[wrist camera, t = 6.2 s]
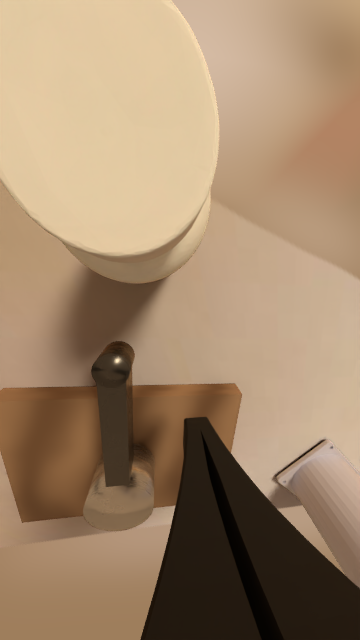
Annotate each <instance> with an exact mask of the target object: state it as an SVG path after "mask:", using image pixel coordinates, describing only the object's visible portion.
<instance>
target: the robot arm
mask: <svg viewBox="0 0 360 640" xmlns="http://www.w3.org/2000/svg"><path fill="white" fill-rule="evenodd" d="M183 451H184V459H183V467H182V473H181V480H180V486H179V491H178V496H177V502H176V506H175V511H174V516H173V520H172V525H171V529H170V534H169V538H168V542H167V545H166V550H165V553H164V557H163V561H162V565H161V569H160V572H159V576H158V580H157V584H156V587H155V591H154V594H153V598H152V601H151V605H150V608H149V612H148V615H147V619H146V622H145V626H144V629H143V633H142V636H141V640H360V473H359V472H358V471H357V469H356V468H355V467H354V466H353V465H352V464H351V463H350V462H349V461H348V460H347V458H346V457H345V456H344V455H343V454H342V453H341V452H340V451H339V450H338V449H337V447H336V446H335V445H334V444H333V443H332V442H331V441H330V440H325V441H323V442H322V443H321V444H319V445H318V446H317V447H315V448H314V449H313V450H311V451H310V452H309V453H307V454H306V455H305V456H303V457H302V458H300V459H299V460H298V461H296V462H295V463H294V464H292V465H291V466H290V467H288V468H287V469H286V470H284V471H283V472H282V473H280V474H279V475H278V476H277V477H276V479H277V481H278V482H279V483H280V484H281V485H283V486H284V487H285V488H286V489H288V490H289V491H290V492H291V493H293V494H294V495H295V496H297V497H298V498H299V500H300V502H301V503H302V505H303V506H304V508H305V510H306V511H307V513H308V514H309V516H310V518H311V519H312V521H313V523H314V524H315V526H316V528H317V529H318V531H319V533H320V534H321V536H322V537H323V539H324V541H325V542H326V544H327V545H328V547H329V549H330V550H331V552H332V554H333V555H334V557H335V559H336V560H337V562H338V563H339V565H340V567H341V568H342V570H343V572H344V573H345V575H346V576H345V575H344V574H343V573H342V572H341V571H340V570H339V569H338V568H336V567H335V566H334V565H333V564H332V563H331V562H330V561H329V560H328V559H327V558H326V557H325V556H324V555H322V554H321V553H320V552H319V551H318V550H317V549H316V548H315V547H314V546H313V545H312V544H311V543H310V542H309V541H308V540H307V539H306V538H305V537H304V536H303V535H302V534H301V533H300V532H299V531H298V530H297V529H296V528H295V527H294V526H293V525H292V524H291V523H290V522H289V521H288V520H287V519H286V518H285V517H284V516H283V515H282V514H281V513H280V512H279V511H278V510H277V509H276V507H275V506H274V505H273V504H272V503H271V502H270V501H269V500H268V499H267V498H266V496H265V495H264V494H263V493H262V492H261V491H260V490H259V488H258V487H257V486H256V485H255V484H254V483H253V481H252V480H251V479H250V478H249V476H248V475H247V474H246V473H245V471H244V470H243V469H242V468H241V466H240V465H239V464H238V462H237V461H236V460H235V458H234V457H233V456H232V454H231V453H230V451H229V450H228V449H227V447H226V446H225V444H224V443H223V441H222V440H221V439H220V437H219V435H218V434H217V432H216V431H215V429H214V428H213V426H212V424H211V423H210V421H209V419H208V418H207V417H194V418H185V419H184V431H183Z"/></svg>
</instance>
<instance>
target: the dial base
mask: <svg viewBox="0 0 360 640" xmlns="http://www.w3.org/2000/svg"><path fill="white" fill-rule="evenodd" d="M132 392H133V435H134V444H138V445H141V446H143V447H145V448H147V449H148V450H149V451H150V452H151V453H152V454H153V456H154V459H155V477H154V507H153V508H156V507H165V506H174V505H176V502H177V496H178V491H179V486H180V480H181V473H182V467H183V459H184V451H183V431H184V419H185V418H194V417H207V418H208V419H209V421H210V423H211V424H212V426H213V428H214V429H215V431H216V432H217V434H218V435H219V437H220V439H221V440H222V441H223V443H224V444H225V446H226V447H227V449H228V450H229V451H230V453H231V449H232V444H233V439H234V434H235V429H236V423H237V418H238V413H239V408H240V403H241V398H242V393H241V392H240V390H239V389H238V387H237V386H236V384H188V385H138V386H132ZM0 451H1V455H2V458H3V461H4V465H5V468H6V471H7V475H8V478H9V481H10V485H11V488H12V491H13V494H14V498H15V501H16V504H17V508H18V511H19V514H20V518H21V521H22V523H23V522H31V521H40V520H49V519H58V518H67V517H76V516H84V515H83V508H84V505H85V501H86V498H87V495H88V492H89V489H90V486H91V483H92V480H93V477H94V474H95V471H96V468H97V465H98V462H99V459H100V457H101V456H102V454H103V451H102V440H101V429H100V418H99V407H98V396H97V386H88V387H38V388H3V389H2V390H1V391H0Z"/></svg>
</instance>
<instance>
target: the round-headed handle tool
mask: <svg viewBox="0 0 360 640" xmlns="http://www.w3.org/2000/svg"><path fill="white" fill-rule="evenodd" d="M134 357H135V353H134V350H133V348H132V347H131V346H130V345H129V344H127V343H125V342H122V341H116V342H112V343H110V344H109V345H107V346H106V348H105V349H104V350H103V352H102V353H101V355H100V356H99V357H98V359H97V360H96V361H95V363H94V364H93V366H92V370H91V372H92V377H93V379H94V380H95V381H96V385H97V396H98V407H99V418H100V429H101V440H102V451H103V454H102V456H101V457H100V459H99V462H98V465H97V468H96V471H95V474H94V477H93V480H92V483H91V486H90V489H89V492H88V495H87V498H86V501H85V505H84V508H83V515H84V518H85V520H86V521H87V522H88V523H89V524H90V525H92V526H93V527H95V528H98V529H101V530H106V531H122V530H127V529H130V528H133V527H136V526H138V525H140V524H141V523H143V522H144V521H145V520H147V519H148V517H149V516H150V515H151V513H152V511H153V507H154V477H155V459H154V456H153V454H152V453H151V452H150V451H149V450H148V449H147V448H145V447H143V446H141V445H138V444H134V435H133V392H132V364H133V361H134Z"/></svg>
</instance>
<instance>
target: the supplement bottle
mask: <svg viewBox="0 0 360 640" xmlns="http://www.w3.org/2000/svg"><path fill="white" fill-rule="evenodd" d="M216 103H217V102H216V97H215V90H214V87H213V84H212V80H211V77H210V73H209V71H208V67H207V64H206V61H205V59H204V56H203V53H202V51H201V49H200V47H199V45H198V42H197V40H196V37H195V35H194V33H193V32H192V30H191V28H190V26H189V24H188V23H187V21H186V20H185V19H184V17H183V16H182V14H181V13H180V12H179V10H178V9H177V7H176V6H175V5H174V4H173V2H172V1H171V0H0V181H1V182H2V184H3V185H4V186H5V188H6V189H7V190H8V192H9V193H10V195H11V196H12V197H13V198H14V200H15V201H16V202H17V203H18V204H19V205H20V206H21V208H22V209H23V210H24V211H25V212H26V213H27V214H28V215H29V216H30V217H31V218H32V219H33V220H34V221H35V222H36V223H37V224H38V225H40V226H41V227H42V228H43V229H44V230H46V231H47V232H48V233H50V234H51V235H53V236H54V237H56V238H58V239H59V240H61V241H62V242H63V244H64V245H65V246H66V248H67V249H68V250H69V251H70V252H71V253H72V254H73V255H74V256H75V257H76V258H77V259H78V260H79V261H80V262H82V263H83V264H84V265H85V266H87V267H88V268H90V269H91V270H93V271H95V272H96V273H98V274H100V275H102V276H104V277H107V278H109V279H112V280H116V281H120V282H125V283H134V284H137V283H148V282H153V281H157V280H160V279H163V278H165V277H167V276H169V275H171V274H172V273H174V272H176V271H177V270H178V269H180V268H181V267H182V266H183V265H184V264H185V263H186V262H187V261H188V260H189V259H190V258H191V257H192V255H193V254H194V252H195V251H196V250H197V248H198V246H199V244H200V242H201V240H202V238H203V236H204V233H205V230H206V227H207V223H208V219H209V213H210V203H211V196H210V188H211V185H212V181H213V178H214V174H215V170H216V165H217V159H218V148H219V117H218V109H217V104H216Z"/></svg>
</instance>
